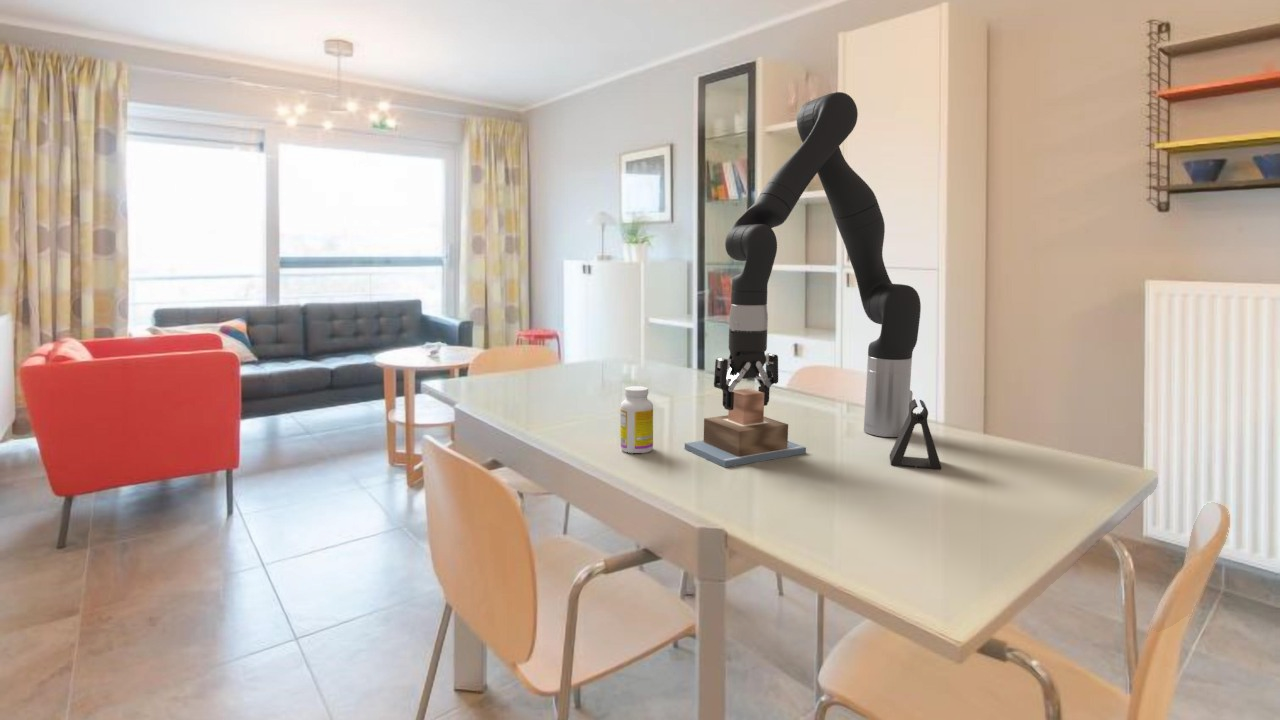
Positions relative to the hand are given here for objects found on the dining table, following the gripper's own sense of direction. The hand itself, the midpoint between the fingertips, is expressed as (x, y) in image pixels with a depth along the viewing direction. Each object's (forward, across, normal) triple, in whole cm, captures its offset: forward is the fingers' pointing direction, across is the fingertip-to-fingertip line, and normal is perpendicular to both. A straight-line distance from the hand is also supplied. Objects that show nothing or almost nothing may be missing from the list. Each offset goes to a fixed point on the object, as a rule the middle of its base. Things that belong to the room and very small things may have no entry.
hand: (745, 407), depth 142 cm
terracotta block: (+3, 0, 0) cm, 3 cm away
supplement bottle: (+9, +19, -11) cm, 24 cm away
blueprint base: (+9, 0, 0) cm, 9 cm away
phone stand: (+9, -24, +22) cm, 34 cm away
